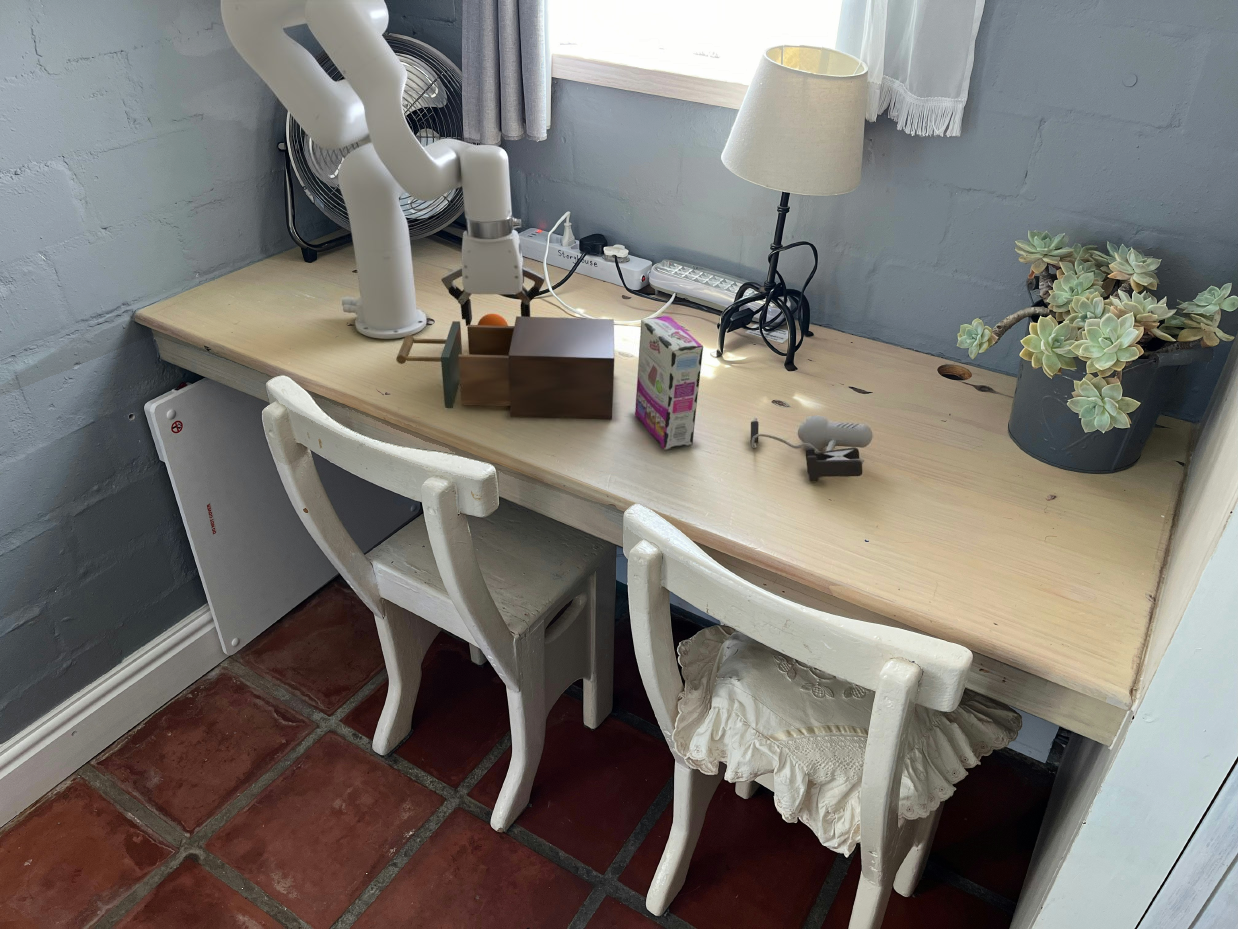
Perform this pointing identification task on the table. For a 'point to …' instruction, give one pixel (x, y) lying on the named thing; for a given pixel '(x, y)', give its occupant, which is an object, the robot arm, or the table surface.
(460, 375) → the drawer
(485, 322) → the ball
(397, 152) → the robot arm
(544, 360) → the cabinet
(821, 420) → the clip-on lamp
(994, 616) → the table surface
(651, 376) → the candy bar box
